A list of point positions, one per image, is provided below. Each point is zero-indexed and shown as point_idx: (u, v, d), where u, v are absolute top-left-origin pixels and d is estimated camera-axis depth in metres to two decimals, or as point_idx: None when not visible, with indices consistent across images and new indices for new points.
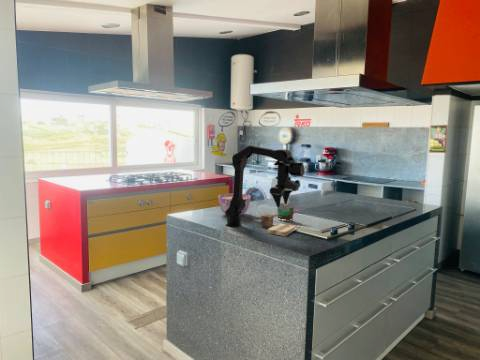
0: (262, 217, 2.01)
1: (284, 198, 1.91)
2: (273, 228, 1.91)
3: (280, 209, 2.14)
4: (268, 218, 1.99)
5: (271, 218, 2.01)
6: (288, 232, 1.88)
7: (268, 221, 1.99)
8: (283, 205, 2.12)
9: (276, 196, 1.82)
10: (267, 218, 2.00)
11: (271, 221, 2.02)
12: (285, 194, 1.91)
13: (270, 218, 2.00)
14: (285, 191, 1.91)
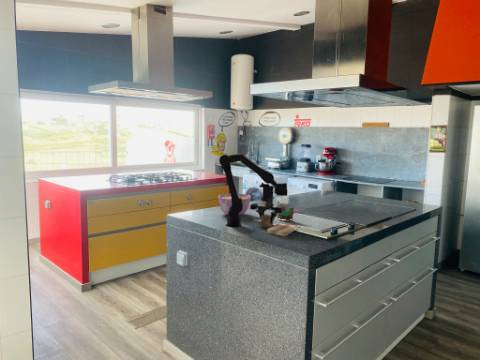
0: (262, 217, 2.01)
1: None
2: (273, 228, 1.91)
3: None
4: (268, 218, 1.99)
5: None
6: (288, 232, 1.88)
7: (268, 221, 1.99)
8: (283, 205, 2.12)
9: None
10: (267, 218, 1.99)
11: None
12: None
13: (270, 218, 2.00)
14: None
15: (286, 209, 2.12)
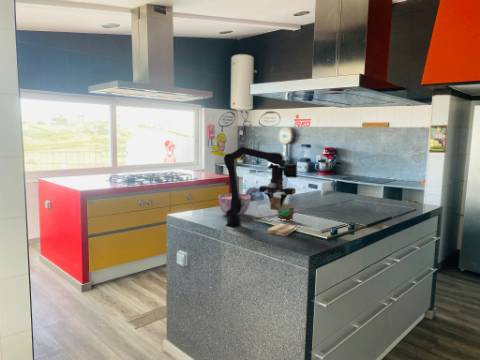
0: (272, 199, 1.94)
1: None
2: (273, 228, 1.91)
3: None
4: (278, 200, 1.92)
5: None
6: (288, 232, 1.88)
7: (278, 203, 1.93)
8: (283, 205, 2.12)
9: None
10: (277, 200, 1.93)
11: None
12: None
13: (280, 200, 1.93)
14: None
15: (286, 209, 2.12)
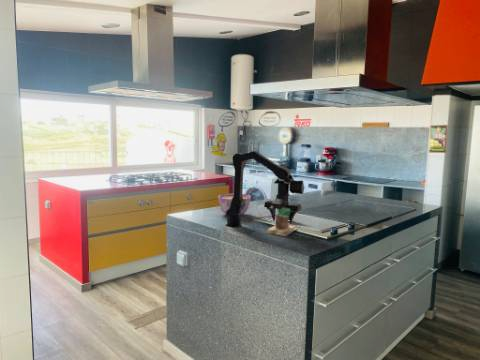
0: (277, 218, 1.91)
1: None
2: (273, 228, 1.91)
3: (280, 209, 2.14)
4: (283, 219, 1.89)
5: (286, 219, 1.91)
6: (288, 232, 1.88)
7: (283, 222, 1.90)
8: None
9: None
10: (282, 219, 1.90)
11: (286, 222, 1.92)
12: None
13: (285, 219, 1.90)
14: None
15: (286, 209, 2.12)
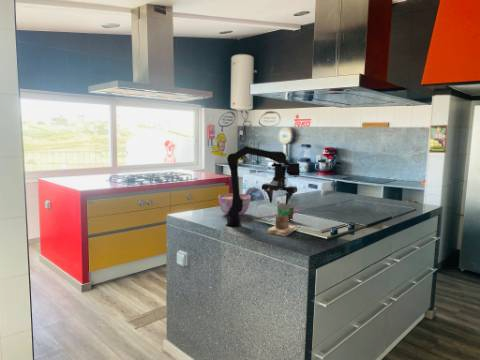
0: (277, 218, 1.91)
1: None
2: (273, 228, 1.91)
3: (280, 209, 2.14)
4: (283, 219, 1.89)
5: (286, 219, 1.91)
6: (288, 232, 1.88)
7: (283, 222, 1.90)
8: (283, 205, 2.12)
9: None
10: (282, 219, 1.90)
11: (286, 222, 1.92)
12: None
13: (285, 219, 1.90)
14: None
15: (286, 209, 2.12)
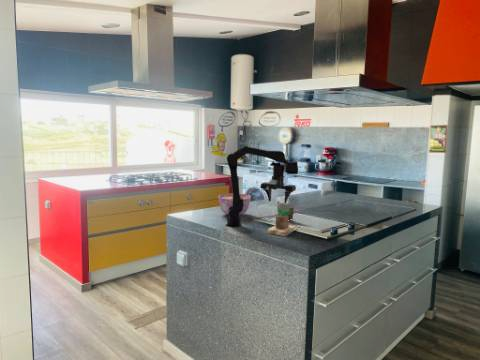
0: (277, 218, 1.91)
1: None
2: (273, 228, 1.91)
3: (280, 209, 2.14)
4: (283, 219, 1.89)
5: (286, 219, 1.91)
6: (288, 232, 1.88)
7: (283, 222, 1.90)
8: (283, 205, 2.12)
9: None
10: (282, 219, 1.90)
11: (286, 222, 1.92)
12: None
13: (285, 219, 1.90)
14: None
15: (286, 209, 2.12)
